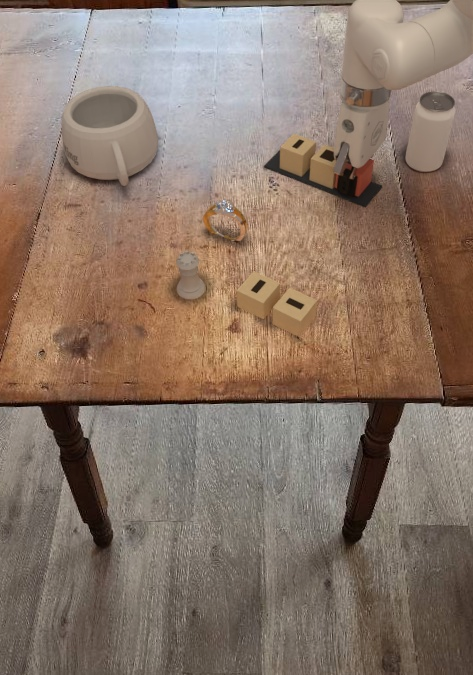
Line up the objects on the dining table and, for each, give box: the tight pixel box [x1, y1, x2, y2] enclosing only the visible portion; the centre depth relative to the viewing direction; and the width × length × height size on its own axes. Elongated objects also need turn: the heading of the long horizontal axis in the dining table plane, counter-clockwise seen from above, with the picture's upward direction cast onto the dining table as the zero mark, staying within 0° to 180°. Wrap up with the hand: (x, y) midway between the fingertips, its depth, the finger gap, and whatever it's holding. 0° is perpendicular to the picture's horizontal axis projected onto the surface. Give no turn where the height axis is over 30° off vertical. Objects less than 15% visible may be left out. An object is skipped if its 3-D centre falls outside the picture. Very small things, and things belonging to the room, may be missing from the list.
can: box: [404, 90, 456, 173], centre depth 114 cm, size 6×6×12 cm
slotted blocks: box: [236, 270, 318, 338], centre depth 96 cm, size 20×6×5 cm, turn 56°
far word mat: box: [263, 133, 383, 208], centre depth 115 cm, size 20×6×5 cm, turn 56°
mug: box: [61, 85, 159, 187], centre depth 118 cm, size 21×17×10 cm
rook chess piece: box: [175, 249, 206, 300], centre depth 98 cm, size 4×4×8 cm
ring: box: [202, 198, 248, 244], centre depth 105 cm, size 7×3×8 cm, turn 61°
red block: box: [335, 158, 375, 197], centre depth 113 cm, size 4×4×5 cm
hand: (353, 183), depth 114 cm, fingers closed on red block, 4 cm apart
